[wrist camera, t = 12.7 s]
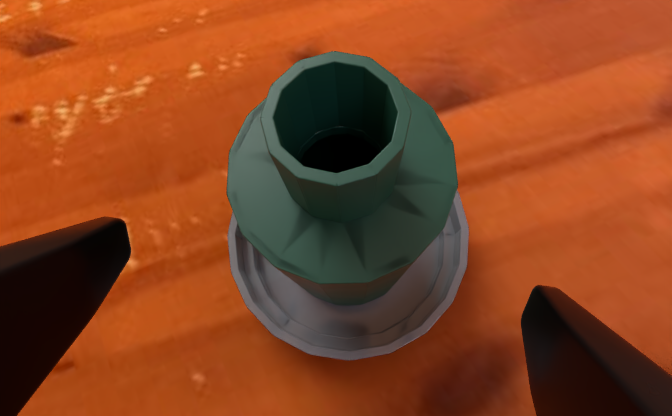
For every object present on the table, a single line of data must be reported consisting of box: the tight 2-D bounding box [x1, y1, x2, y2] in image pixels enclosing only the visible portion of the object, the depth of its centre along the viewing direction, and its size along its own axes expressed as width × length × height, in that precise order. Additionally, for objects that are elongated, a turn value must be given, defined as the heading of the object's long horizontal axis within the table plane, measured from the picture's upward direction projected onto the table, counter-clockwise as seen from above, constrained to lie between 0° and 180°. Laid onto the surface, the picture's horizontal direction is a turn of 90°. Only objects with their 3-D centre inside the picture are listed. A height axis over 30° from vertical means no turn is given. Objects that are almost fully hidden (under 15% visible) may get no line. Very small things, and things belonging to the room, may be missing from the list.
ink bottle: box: [227, 51, 458, 306], centre depth 15 cm, size 7×7×14 cm
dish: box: [228, 191, 469, 361], centre depth 21 cm, size 12×12×3 cm
